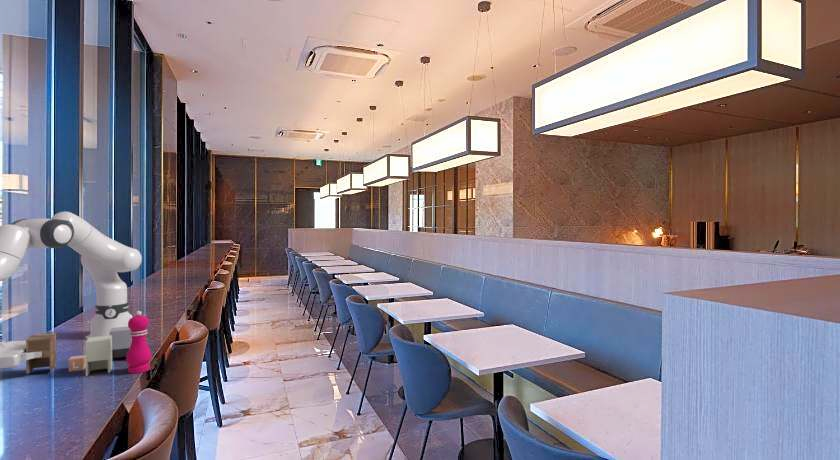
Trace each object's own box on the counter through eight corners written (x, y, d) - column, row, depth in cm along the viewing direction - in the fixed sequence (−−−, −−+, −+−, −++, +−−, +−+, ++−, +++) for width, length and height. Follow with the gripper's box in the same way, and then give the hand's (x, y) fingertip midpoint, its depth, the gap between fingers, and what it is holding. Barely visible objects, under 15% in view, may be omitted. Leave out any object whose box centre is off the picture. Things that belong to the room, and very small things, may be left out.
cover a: (32, 368, 150) (31, 335, 150) (56, 365, 153) (56, 332, 153) (26, 373, 144) (26, 339, 144) (51, 370, 147) (51, 337, 147)
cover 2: (112, 357, 165) (111, 327, 165) (132, 355, 168) (132, 326, 168) (109, 362, 159) (109, 331, 159) (131, 360, 162) (130, 329, 162)
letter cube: (71, 368, 153) (71, 356, 153) (85, 366, 155) (85, 355, 155) (68, 371, 150) (68, 359, 150) (83, 370, 152) (83, 358, 152)
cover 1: (89, 370, 151) (88, 337, 151) (112, 367, 154) (111, 335, 154) (85, 376, 145) (85, 342, 145) (109, 372, 148) (109, 339, 148)
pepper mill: (133, 367, 154) (133, 309, 154) (155, 366, 155) (155, 308, 154) (121, 374, 147) (120, 313, 146) (144, 373, 147) (144, 312, 147)
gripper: (-24, 355, 133) (36, 349, 140) (0, 339, 151) (52, 334, 158) (-24, 376, 133) (36, 369, 140) (0, 358, 152) (52, 352, 158)
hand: (45, 350), depth 149 cm, fingers closed on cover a, 6 cm apart
